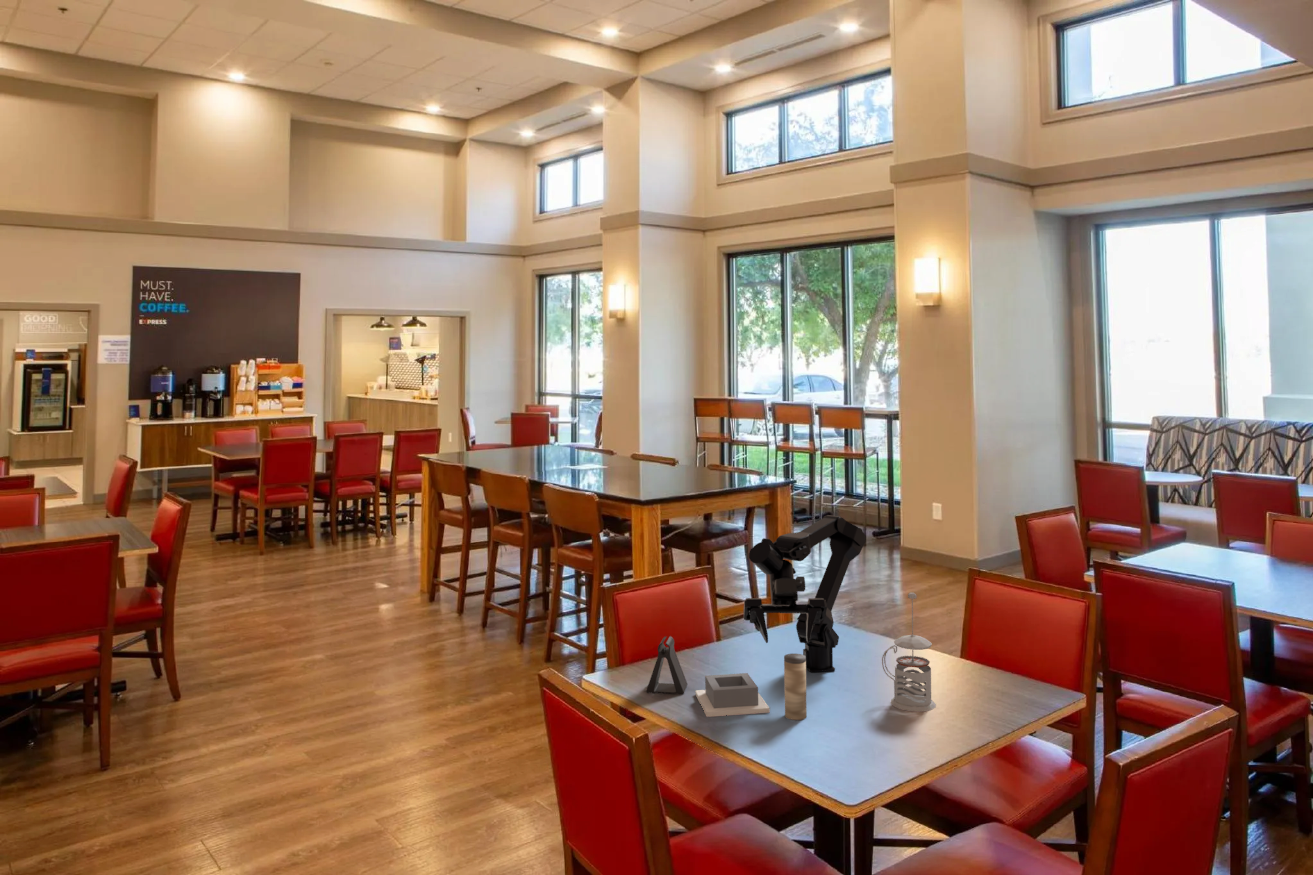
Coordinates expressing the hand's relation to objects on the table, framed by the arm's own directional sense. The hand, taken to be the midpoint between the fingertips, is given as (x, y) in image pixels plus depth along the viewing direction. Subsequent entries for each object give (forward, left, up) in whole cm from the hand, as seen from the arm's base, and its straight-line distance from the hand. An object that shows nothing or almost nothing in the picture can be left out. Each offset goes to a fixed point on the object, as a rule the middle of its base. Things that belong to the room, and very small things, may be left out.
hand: (787, 642), depth 190 cm
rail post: (+1, +8, -14) cm, 16 cm away
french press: (-26, +5, -14) cm, 30 cm away
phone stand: (+26, -14, -14) cm, 33 cm away
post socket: (+13, -2, -14) cm, 19 cm away
